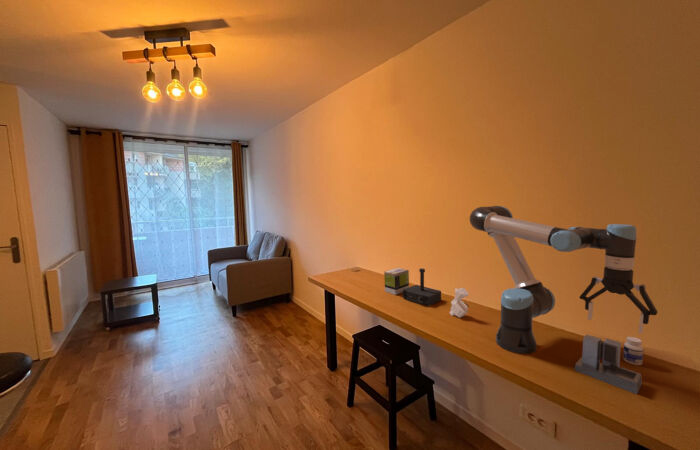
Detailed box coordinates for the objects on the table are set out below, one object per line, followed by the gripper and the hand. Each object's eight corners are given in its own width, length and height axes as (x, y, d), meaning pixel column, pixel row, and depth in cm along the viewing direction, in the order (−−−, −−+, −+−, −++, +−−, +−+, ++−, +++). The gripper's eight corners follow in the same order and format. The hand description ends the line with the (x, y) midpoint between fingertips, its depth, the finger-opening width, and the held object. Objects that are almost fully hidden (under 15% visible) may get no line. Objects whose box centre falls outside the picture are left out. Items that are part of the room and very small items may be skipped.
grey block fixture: (574, 370, 102) (576, 337, 101) (581, 363, 106) (583, 331, 105) (637, 394, 89) (639, 357, 88) (641, 384, 94) (644, 349, 93)
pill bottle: (622, 356, 111) (623, 334, 110) (641, 360, 107) (642, 338, 106) (623, 362, 106) (625, 339, 106) (643, 367, 103) (645, 344, 102)
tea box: (398, 287, 204) (398, 267, 203) (409, 290, 196) (409, 269, 195) (384, 291, 194) (383, 271, 193) (395, 295, 187) (395, 273, 185)
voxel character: (449, 300, 161) (462, 283, 152) (463, 318, 153) (478, 301, 145) (440, 302, 157) (454, 286, 148) (454, 321, 150) (469, 304, 141)
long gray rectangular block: (616, 373, 100) (617, 347, 99) (601, 368, 103) (603, 342, 102) (619, 368, 103) (621, 342, 102) (604, 363, 106) (606, 338, 105)
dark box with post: (400, 299, 178) (400, 269, 177) (416, 293, 190) (415, 264, 188) (427, 307, 164) (427, 274, 163) (441, 300, 175) (442, 269, 174)
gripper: (571, 263, 107) (568, 316, 109) (670, 277, 87) (664, 342, 89) (577, 260, 112) (574, 311, 114) (673, 273, 92) (666, 334, 94)
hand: (614, 325), depth 101 cm, fingers open, 13 cm apart
